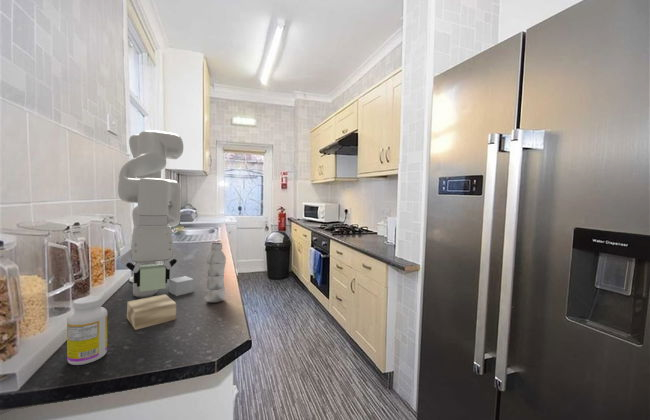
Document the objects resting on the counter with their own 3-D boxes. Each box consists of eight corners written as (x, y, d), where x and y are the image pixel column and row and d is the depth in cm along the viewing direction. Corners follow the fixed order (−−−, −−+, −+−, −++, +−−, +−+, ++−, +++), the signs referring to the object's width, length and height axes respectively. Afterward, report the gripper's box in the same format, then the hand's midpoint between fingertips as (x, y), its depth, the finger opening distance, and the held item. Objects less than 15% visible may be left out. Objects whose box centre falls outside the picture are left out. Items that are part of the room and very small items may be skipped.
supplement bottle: (88, 348, 64) (89, 293, 64) (114, 350, 63) (115, 295, 63) (57, 365, 57) (58, 303, 57) (86, 368, 57) (87, 306, 56)
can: (137, 299, 94) (138, 264, 94) (129, 294, 99) (129, 261, 98) (161, 294, 100) (161, 261, 100) (152, 289, 105) (153, 258, 104)
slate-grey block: (168, 292, 103) (169, 279, 103) (185, 288, 108) (185, 276, 108) (176, 296, 99) (176, 282, 99) (193, 292, 104) (193, 279, 104)
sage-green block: (138, 285, 81) (139, 265, 81) (162, 283, 84) (163, 263, 84) (140, 291, 76) (140, 269, 76) (165, 288, 79) (165, 267, 79)
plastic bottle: (225, 297, 100) (226, 242, 99) (224, 304, 93) (226, 245, 93) (206, 298, 98) (207, 242, 97) (203, 305, 91) (205, 245, 91)
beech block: (126, 318, 80) (127, 301, 80) (165, 309, 88) (165, 294, 87) (135, 330, 73) (135, 312, 73) (175, 320, 81) (176, 303, 80)
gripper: (183, 220, 88) (182, 276, 88) (115, 220, 78) (114, 284, 78) (188, 222, 82) (187, 282, 82) (115, 223, 71) (114, 292, 72)
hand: (152, 283), depth 80 cm, fingers closed on sage-green block, 6 cm apart
